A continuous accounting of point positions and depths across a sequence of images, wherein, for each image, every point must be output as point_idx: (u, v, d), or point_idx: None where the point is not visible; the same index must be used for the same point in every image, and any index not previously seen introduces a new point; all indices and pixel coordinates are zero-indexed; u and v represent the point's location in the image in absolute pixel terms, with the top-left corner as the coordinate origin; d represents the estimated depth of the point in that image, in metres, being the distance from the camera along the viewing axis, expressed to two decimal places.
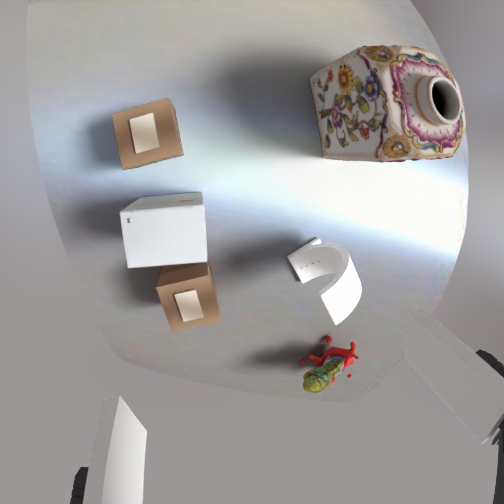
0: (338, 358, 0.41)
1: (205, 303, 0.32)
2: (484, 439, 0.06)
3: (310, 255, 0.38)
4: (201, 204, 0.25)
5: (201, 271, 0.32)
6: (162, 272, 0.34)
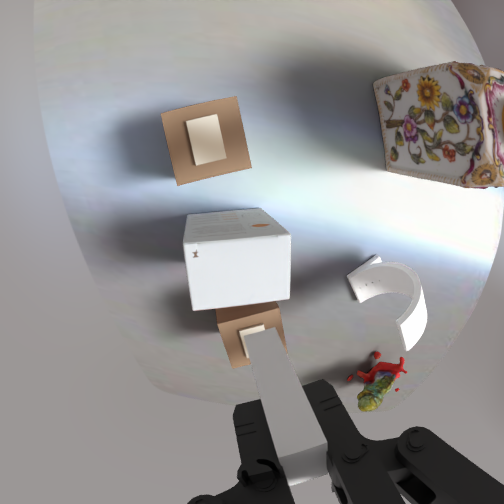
0: (389, 374, 0.37)
1: None
2: (307, 476, 0.07)
3: (371, 274, 0.34)
4: (288, 233, 0.21)
5: None
6: None
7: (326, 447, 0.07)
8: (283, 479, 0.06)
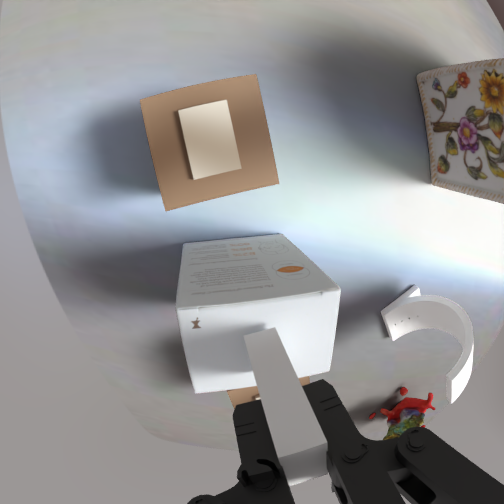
0: (417, 413, 0.29)
1: None
2: (307, 476, 0.07)
3: (409, 309, 0.26)
4: (336, 288, 0.13)
5: None
6: None
7: (326, 447, 0.07)
8: (283, 479, 0.06)
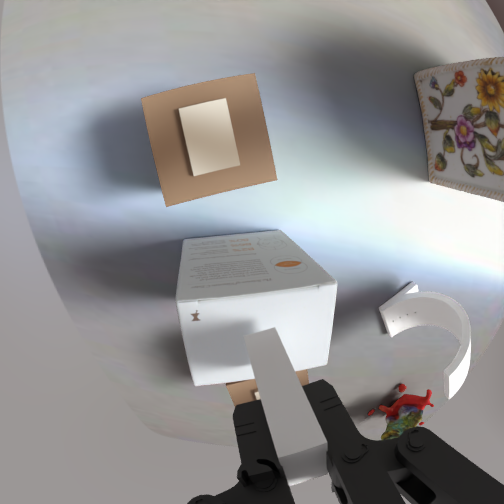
0: (415, 410, 0.30)
1: None
2: (307, 476, 0.07)
3: (407, 306, 0.27)
4: (333, 282, 0.14)
5: None
6: None
7: (326, 447, 0.07)
8: (283, 479, 0.06)
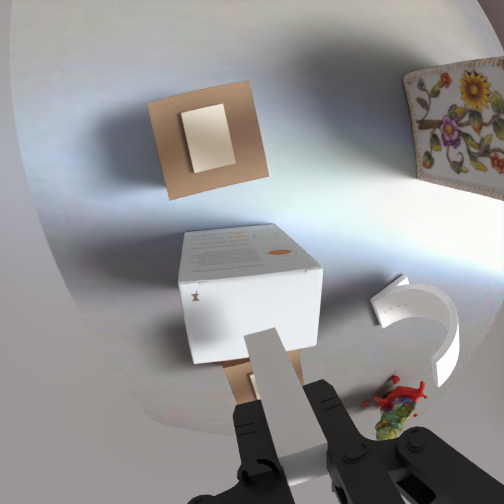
0: (409, 401, 0.31)
1: None
2: (307, 476, 0.07)
3: (397, 297, 0.29)
4: (319, 267, 0.15)
5: None
6: None
7: (326, 447, 0.07)
8: (283, 479, 0.06)
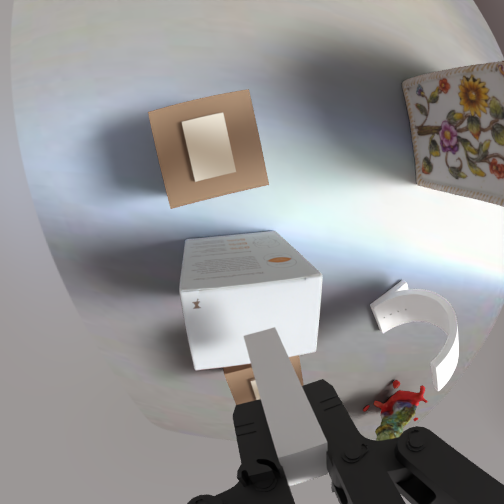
0: (409, 405, 0.31)
1: None
2: (307, 476, 0.07)
3: (397, 303, 0.29)
4: (318, 274, 0.16)
5: None
6: None
7: (326, 447, 0.07)
8: (283, 479, 0.06)
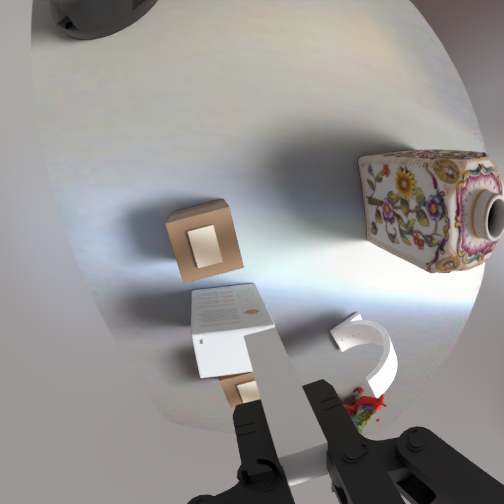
0: (369, 408, 0.41)
1: None
2: (307, 476, 0.07)
3: (351, 329, 0.39)
4: (272, 324, 0.26)
5: None
6: None
7: (326, 447, 0.07)
8: (283, 479, 0.06)
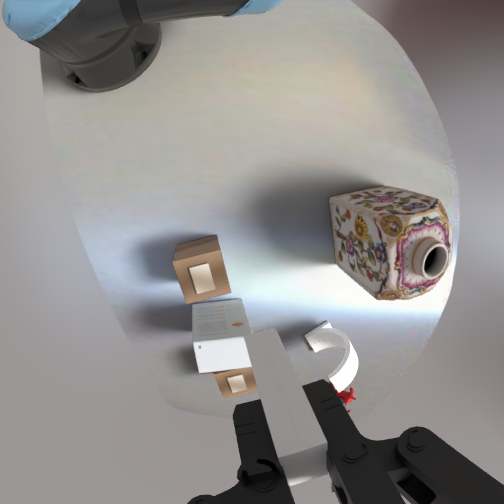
0: None
1: (248, 381, 0.42)
2: (307, 476, 0.07)
3: (322, 335, 0.49)
4: None
5: None
6: None
7: (326, 447, 0.07)
8: (283, 479, 0.06)
